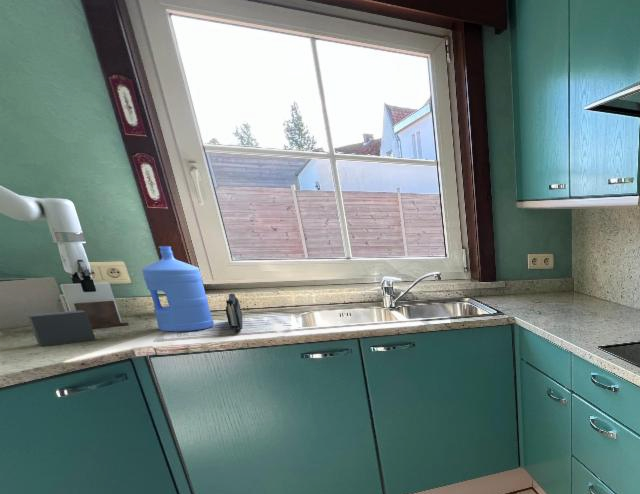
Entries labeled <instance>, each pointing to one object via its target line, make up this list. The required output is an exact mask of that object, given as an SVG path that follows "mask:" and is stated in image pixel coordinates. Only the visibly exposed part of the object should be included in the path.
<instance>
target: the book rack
mask: <svg viewBox="0 0 640 494" xmlns="http://www.w3.org/2000/svg"><path fill="white" fill-rule="evenodd" d="M58 296H59V299H60V302H61V305H62V307H63V310H64V312H67V311H69V308H68V305H67V303H66V300H65V297H64V294H58ZM74 306H75V309H76V311H79V310H82V311H85V312H86V313H87V316H88V319H89V321H90V324H91V327H92V330H96V329H106V328H115V327H124V325H125V326H129V322H128V321H126V320H122V319H121V321H122V322H120V319H119V316H118V313H117V310H116V307H115V304H114V301H99V302H86V303H74Z"/></svg>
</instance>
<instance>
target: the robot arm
mask: <svg viewBox="0 0 640 494" xmlns="http://www.w3.org/2000/svg"><path fill="white" fill-rule="evenodd" d="M0 214H1V215H4V216H6V217H9V218H11V219H13V220H16V221H19V222H20V221H21V222H39V221H46V222H47V226H48V229H49V231H50V234H51V237H52V240H53V243H54V244H57V248H58V252H59V255H60V259H61V263H62V266H63V270H64V272H66V273H69V274H70V277H71V278H70V279H71V282H72V284H80V283H81V286H82V289H83V292H96V288H95V285H94V283H95V282H94V279H93V277H92V275H91V273H92V268H91V265H90V262H89V259H88V256H87V253H86V250H85V248H84V245H83V244H86V243H87V241H86V239H85V236H84V233H83V229H82V226H81V223H80V219H79V215H78V213H77V210H76V206H75V204H74V203H73V201H72V200H70V199H67V198H58V197H43V198H40V197H34V196H28V195H20V194H18V193H16V192H14V191H13V190H10V189H8V188H6V187H4V186H3V185H0Z"/></svg>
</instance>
